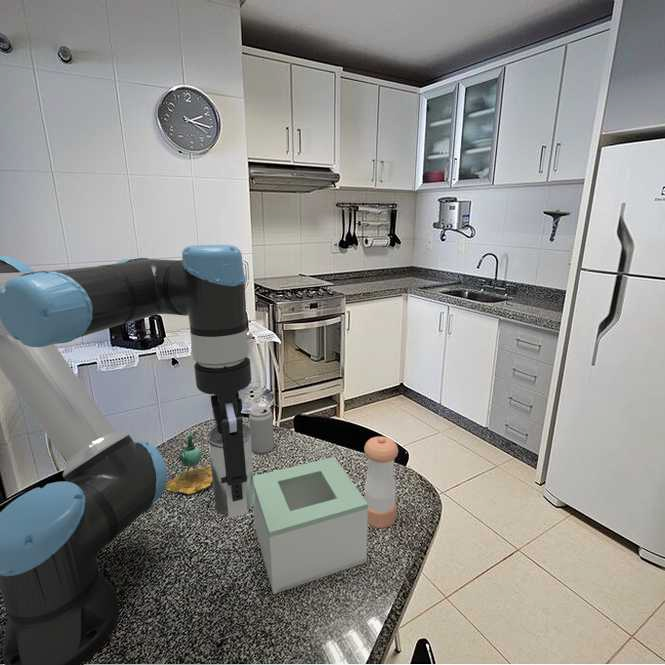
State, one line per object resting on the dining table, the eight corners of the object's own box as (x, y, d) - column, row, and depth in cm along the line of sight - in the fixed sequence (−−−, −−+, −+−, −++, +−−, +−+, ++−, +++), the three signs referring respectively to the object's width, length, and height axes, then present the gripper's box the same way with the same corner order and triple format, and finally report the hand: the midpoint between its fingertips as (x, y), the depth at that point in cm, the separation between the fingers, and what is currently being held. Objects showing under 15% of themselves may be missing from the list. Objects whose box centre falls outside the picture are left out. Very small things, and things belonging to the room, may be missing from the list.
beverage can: (269, 456, 109) (267, 416, 106) (247, 453, 111) (245, 414, 107) (277, 443, 115) (275, 406, 112) (256, 441, 117) (254, 404, 113)
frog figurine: (235, 491, 96) (222, 437, 91) (157, 507, 93) (141, 453, 89) (237, 467, 105) (226, 417, 100) (166, 481, 102) (151, 431, 98)
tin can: (217, 520, 58) (209, 447, 55) (213, 494, 63) (205, 427, 60) (258, 509, 60) (253, 439, 57) (251, 485, 65) (246, 419, 62)
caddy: (273, 594, 69) (269, 532, 65) (255, 530, 83) (251, 476, 80) (366, 562, 75) (367, 504, 72) (335, 507, 90) (334, 456, 86)
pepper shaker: (367, 530, 83) (368, 449, 78) (359, 506, 90) (360, 430, 85) (400, 525, 84) (404, 445, 79) (390, 502, 91) (393, 427, 86)
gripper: (263, 379, 48) (272, 536, 54) (239, 337, 65) (248, 461, 71) (198, 388, 45) (216, 553, 52) (190, 343, 62) (204, 471, 69)
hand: (234, 499), depth 62 cm, fingers closed on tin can, 6 cm apart
